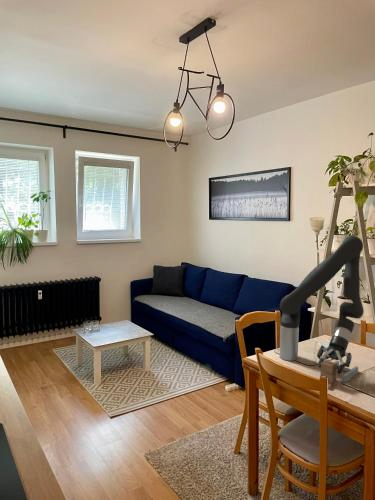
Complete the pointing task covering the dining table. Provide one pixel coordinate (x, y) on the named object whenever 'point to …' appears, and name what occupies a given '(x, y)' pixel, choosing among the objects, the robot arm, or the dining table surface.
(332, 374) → the walnut block
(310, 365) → the dining table surface
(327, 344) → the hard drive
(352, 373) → the channel
